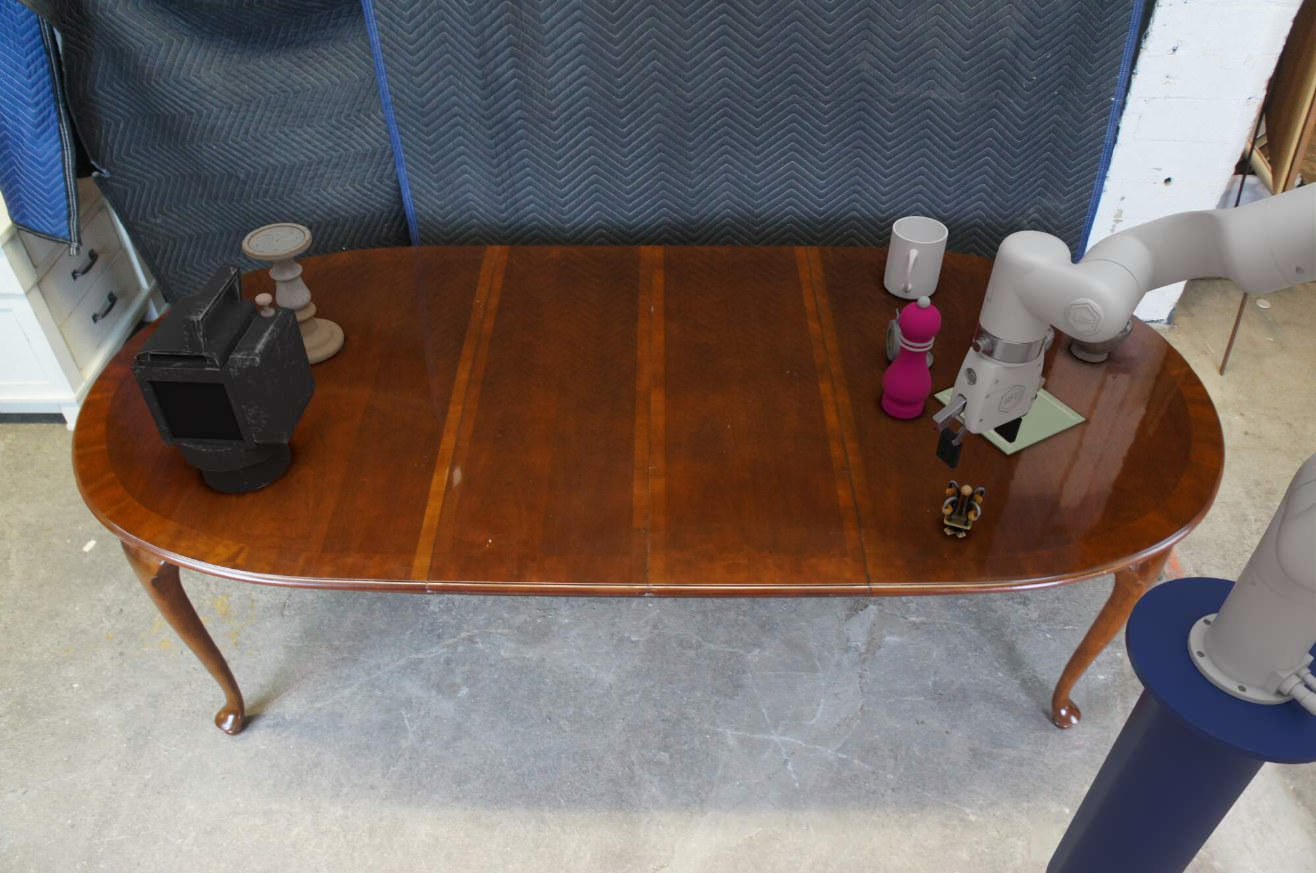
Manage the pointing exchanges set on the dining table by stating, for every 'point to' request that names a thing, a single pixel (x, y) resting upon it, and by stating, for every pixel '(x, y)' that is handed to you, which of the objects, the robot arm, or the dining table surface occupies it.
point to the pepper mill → (911, 361)
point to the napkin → (1031, 421)
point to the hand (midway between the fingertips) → (975, 448)
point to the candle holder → (294, 284)
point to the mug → (915, 257)
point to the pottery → (1093, 344)
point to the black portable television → (227, 382)
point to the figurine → (961, 508)
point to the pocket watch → (894, 344)
